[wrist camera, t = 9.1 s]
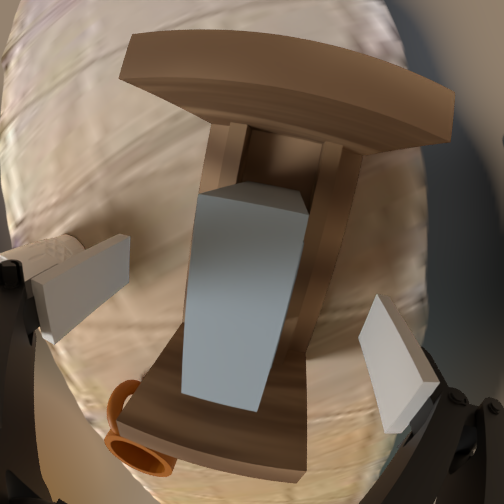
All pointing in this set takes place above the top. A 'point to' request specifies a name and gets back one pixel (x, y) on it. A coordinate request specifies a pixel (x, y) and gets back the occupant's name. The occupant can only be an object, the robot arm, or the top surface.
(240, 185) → the gray rectangular block
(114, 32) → the top surface
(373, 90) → the wooden frame
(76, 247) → the white cup
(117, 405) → the mug
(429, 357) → the robot arm
